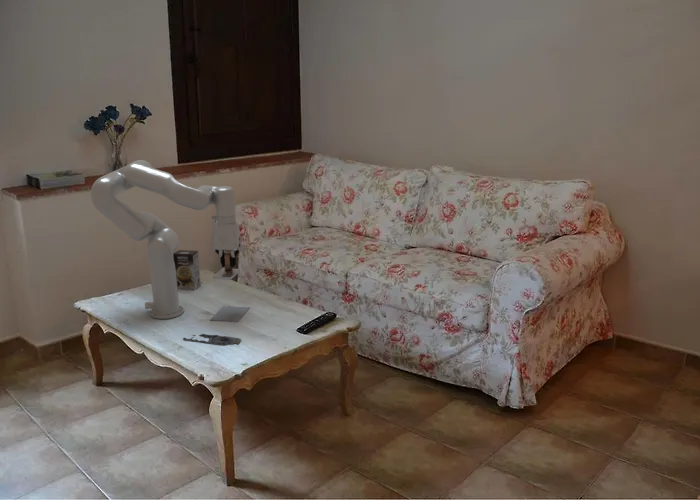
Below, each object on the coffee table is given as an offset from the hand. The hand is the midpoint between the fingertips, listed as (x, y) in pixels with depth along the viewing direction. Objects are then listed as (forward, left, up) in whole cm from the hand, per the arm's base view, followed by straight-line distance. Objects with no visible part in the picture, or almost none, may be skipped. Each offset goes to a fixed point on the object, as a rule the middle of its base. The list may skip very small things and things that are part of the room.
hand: (228, 265), depth 247 cm
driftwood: (+2, -26, -20) cm, 33 cm away
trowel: (0, -3, -3) cm, 4 cm away
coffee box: (-29, +26, -19) cm, 43 cm away
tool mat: (0, -2, -19) cm, 19 cm away
